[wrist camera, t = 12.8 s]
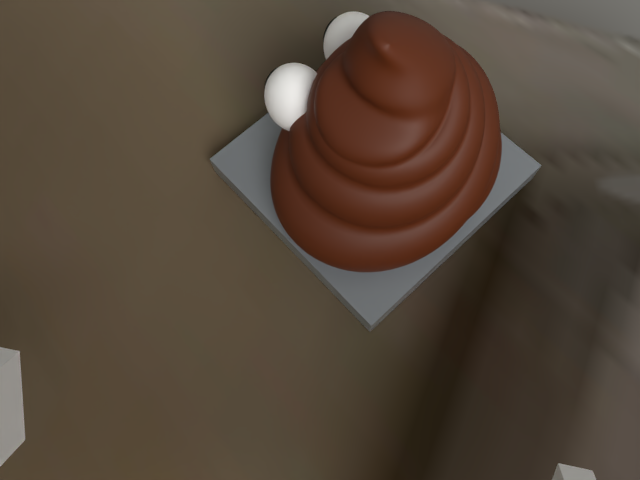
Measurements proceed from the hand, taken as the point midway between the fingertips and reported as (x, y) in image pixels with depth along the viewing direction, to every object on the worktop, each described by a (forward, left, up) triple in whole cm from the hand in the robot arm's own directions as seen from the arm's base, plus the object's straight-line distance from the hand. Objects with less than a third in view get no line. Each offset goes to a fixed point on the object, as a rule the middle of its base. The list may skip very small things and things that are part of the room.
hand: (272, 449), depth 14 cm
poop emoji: (-6, +10, -7) cm, 14 cm away
